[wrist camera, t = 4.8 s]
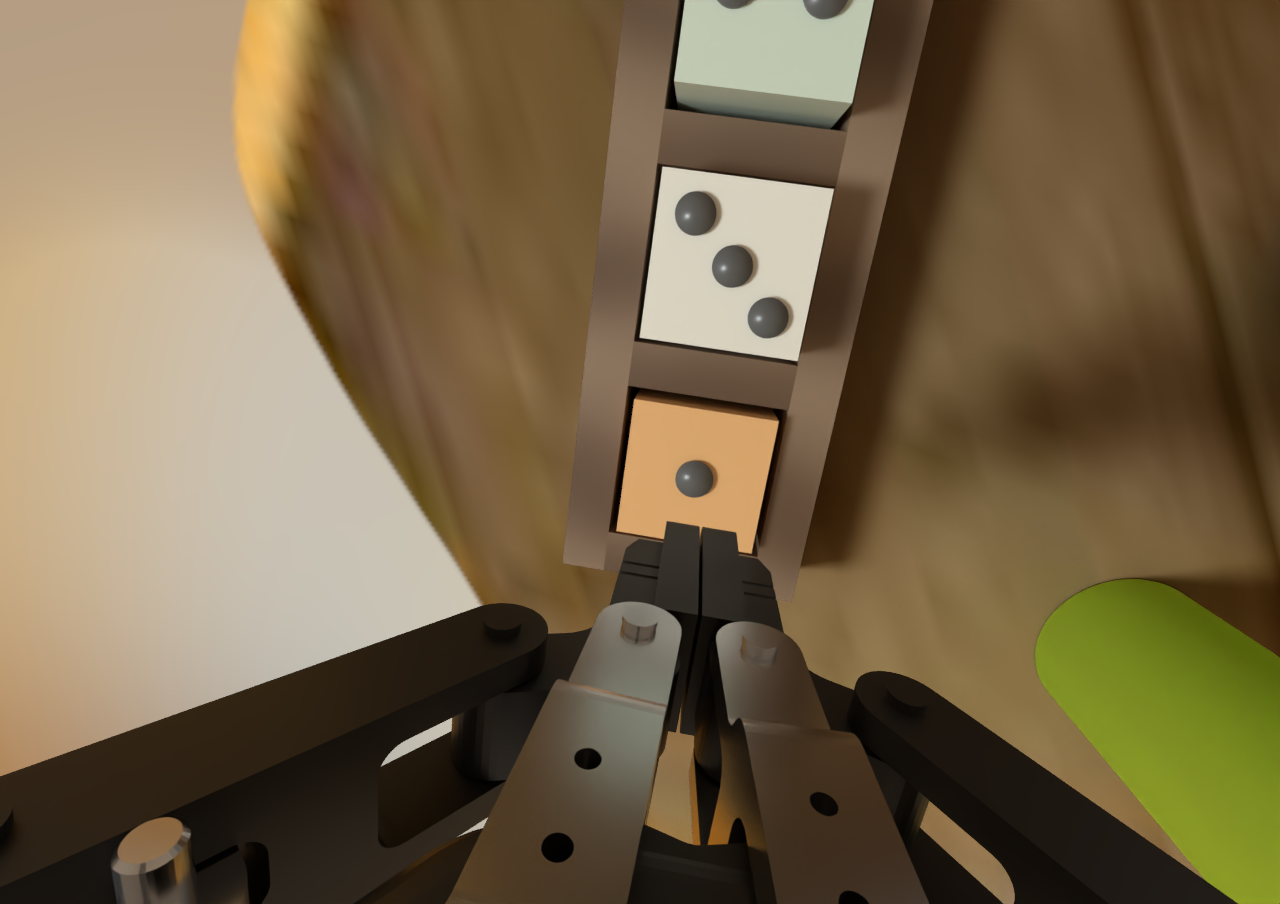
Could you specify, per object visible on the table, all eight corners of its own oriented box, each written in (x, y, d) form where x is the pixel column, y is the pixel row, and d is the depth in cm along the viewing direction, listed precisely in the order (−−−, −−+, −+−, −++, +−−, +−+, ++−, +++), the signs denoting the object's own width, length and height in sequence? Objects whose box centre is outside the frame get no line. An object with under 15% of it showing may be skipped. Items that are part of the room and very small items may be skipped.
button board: (653, -126, 17) (645, -190, 15) (933, -97, 17) (970, -158, 15) (577, 534, 24) (562, 563, 21) (782, 568, 23) (791, 602, 21)
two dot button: (703, -66, 17) (703, -140, 14) (865, -49, 17) (900, -121, 14) (678, 112, 18) (673, 79, 15) (828, 131, 18) (853, 101, 15)
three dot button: (668, 183, 19) (662, 165, 16) (813, 203, 19) (835, 188, 16) (648, 329, 20) (638, 338, 17) (784, 349, 20) (798, 361, 17)
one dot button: (643, 383, 22) (633, 399, 19) (768, 402, 21) (779, 422, 18) (627, 499, 23) (615, 532, 20) (745, 518, 23) (751, 555, 20)
